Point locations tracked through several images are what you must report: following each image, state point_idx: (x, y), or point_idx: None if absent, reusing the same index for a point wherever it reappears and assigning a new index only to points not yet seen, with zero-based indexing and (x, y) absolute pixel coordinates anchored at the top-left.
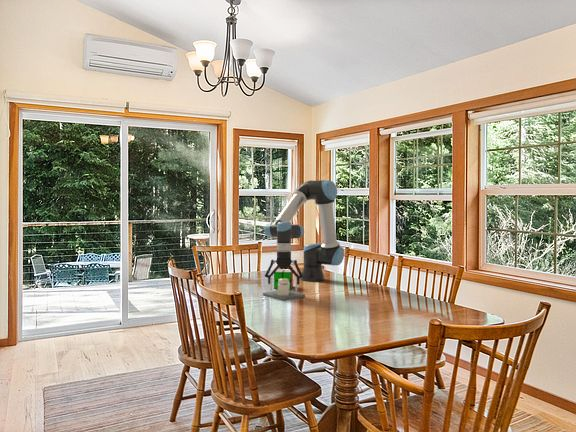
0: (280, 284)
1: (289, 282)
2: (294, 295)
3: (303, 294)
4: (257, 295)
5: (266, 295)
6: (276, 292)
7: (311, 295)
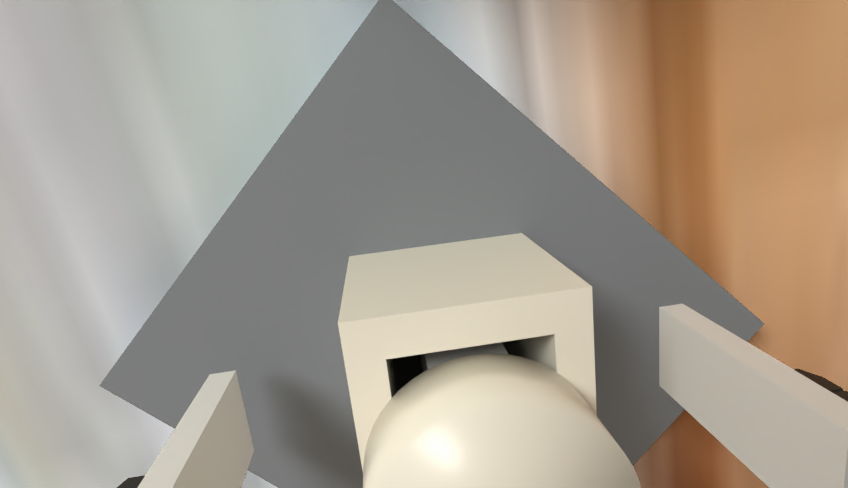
0: (390, 382)
1: (590, 287)
2: (622, 425)
3: (744, 330)
4: (39, 398)
5: None
6: (311, 291)
7: (832, 202)
